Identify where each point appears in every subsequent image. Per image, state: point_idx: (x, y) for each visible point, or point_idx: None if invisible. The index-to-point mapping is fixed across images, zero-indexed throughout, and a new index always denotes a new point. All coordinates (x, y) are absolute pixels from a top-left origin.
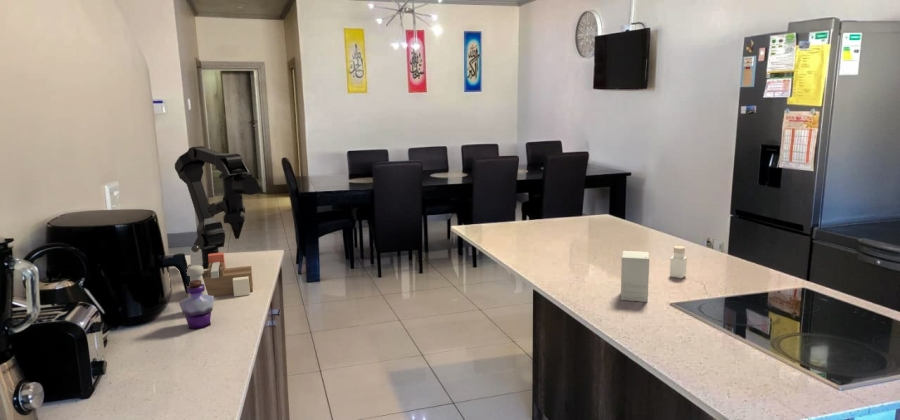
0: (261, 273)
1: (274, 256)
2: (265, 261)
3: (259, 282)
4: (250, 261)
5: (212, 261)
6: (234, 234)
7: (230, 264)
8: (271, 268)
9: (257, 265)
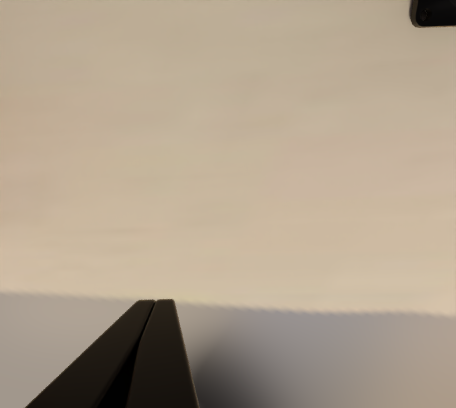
0: (163, 261)
1: (452, 309)
2: (380, 274)
3: (13, 257)
4: (428, 206)
5: None
6: (88, 354)
7: (432, 93)
8: (235, 299)
9: (322, 241)
